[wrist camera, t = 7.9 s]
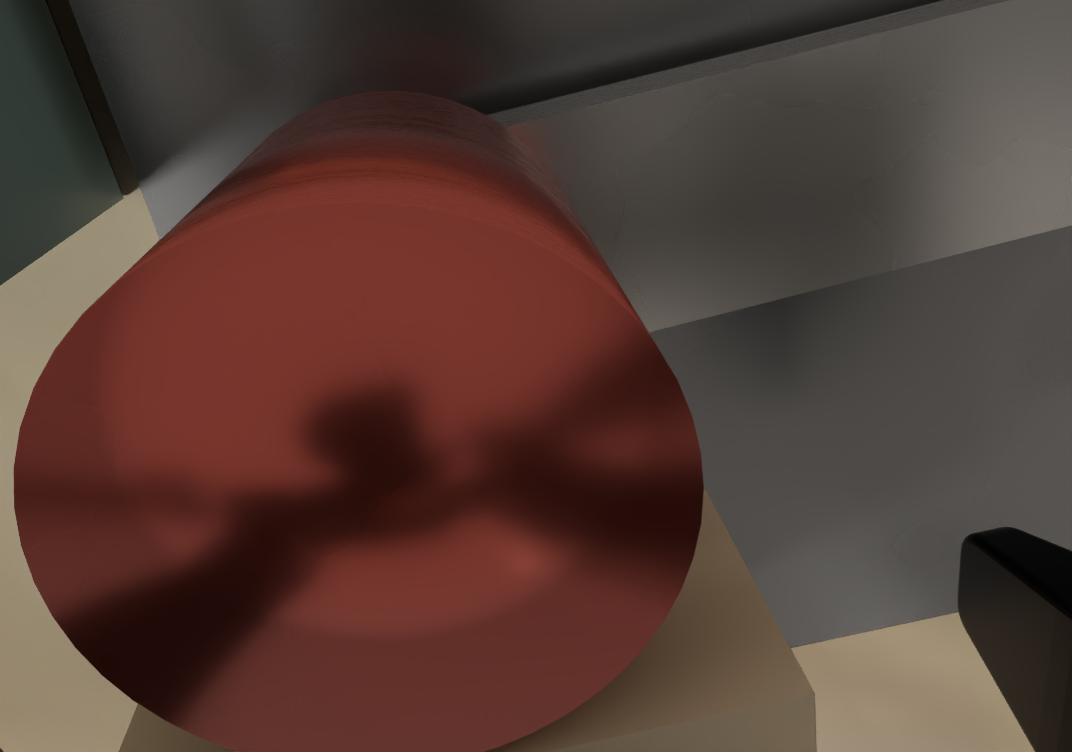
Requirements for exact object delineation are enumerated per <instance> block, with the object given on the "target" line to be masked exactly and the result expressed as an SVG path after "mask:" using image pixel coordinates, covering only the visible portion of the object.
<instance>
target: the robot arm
mask: <svg viewBox="0 0 1072 752" xmlns="http://www.w3.org/2000/svg"><path fill="white" fill-rule="evenodd" d="M957 604H958V611H959V615H960V618H961V621H962V623H963V626H964V628H965V630H966V631H967V633H968V635H969V637H970V639H971V640H972V642H973V644H974V646H975V647H976V649H977V651H978V653H979V654H980V656H981V658H982V660H983V661H984V663H985V665H986V667H987V668H988V670H989V672H990V674H991V675H992V677H993V679H994V681H995V682H996V684H997V686H998V688H999V689H1000V691H1001V693H1002V695H1003V696H1004V698H1005V700H1006V702H1007V703H1008V705H1009V707H1010V709H1011V710H1012V712H1013V714H1014V716H1015V717H1016V719H1017V721H1018V723H1019V724H1020V726H1021V728H1022V730H1023V731H1024V733H1025V735H1026V737H1027V739H1028V740H1029V742H1030V744H1031V746H1032V747H1033V749H1034V751H1035V752H1072V551H1071V550H1069V549H1066V548H1064V547H1061V546H1059V545H1056V544H1054V543H1051V542H1049V541H1047V540H1044V539H1042V538H1039V537H1037V536H1034V535H1032V534H1029V533H1027V532H1024V531H1022V530H1019V529H1016V528H1013V527H999V528H995V529H990V530H985V531H981V532H976V533H972V534H970V535H968V536H966V538H965V539H964V540H963V542H962V546H961V553H960V568H959V582H958V596H957ZM0 752H3V750H2V749H1V748H0Z"/></svg>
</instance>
